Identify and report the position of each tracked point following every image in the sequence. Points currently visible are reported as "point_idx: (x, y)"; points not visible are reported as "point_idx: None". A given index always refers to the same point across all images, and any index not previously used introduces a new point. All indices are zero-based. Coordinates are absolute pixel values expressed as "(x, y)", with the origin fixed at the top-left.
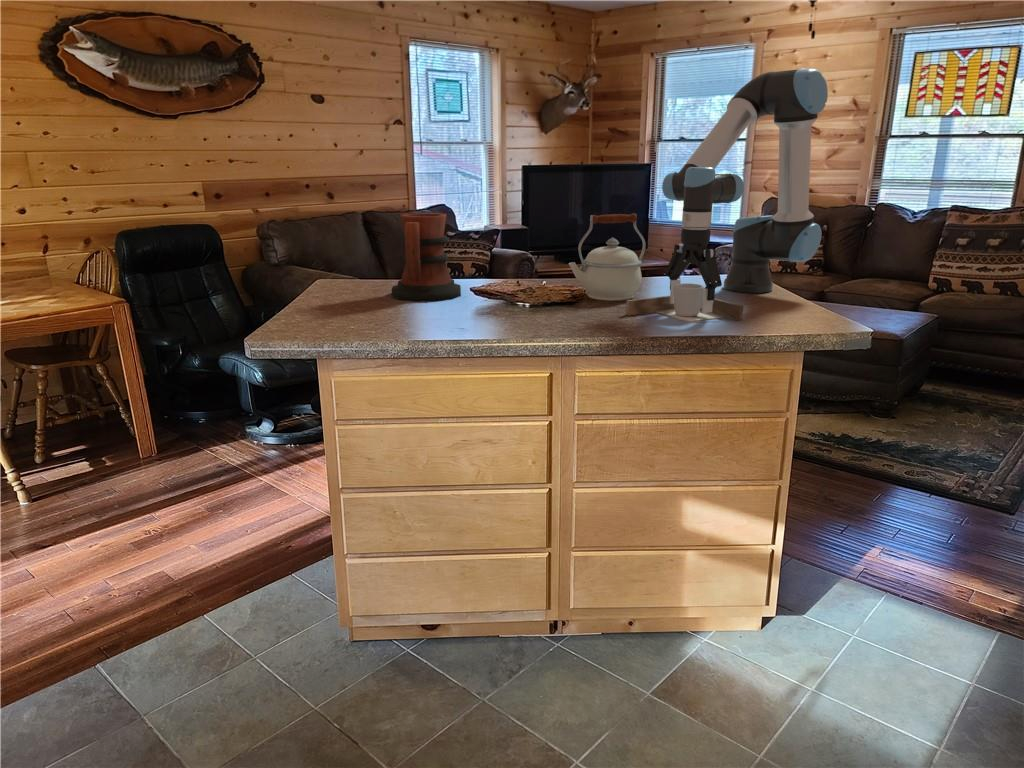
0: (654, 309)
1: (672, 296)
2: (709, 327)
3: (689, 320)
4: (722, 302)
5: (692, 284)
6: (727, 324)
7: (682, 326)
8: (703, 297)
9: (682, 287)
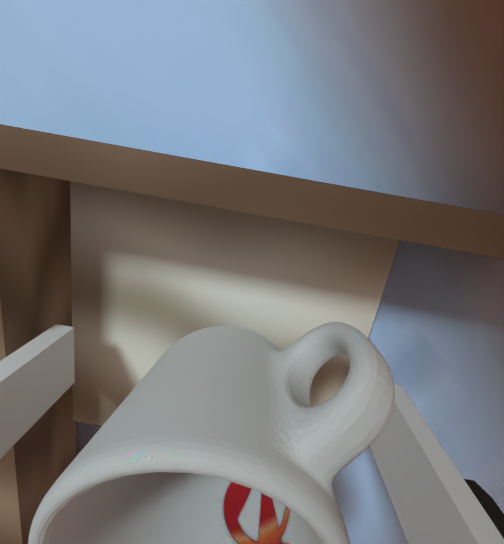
0: (66, 433)
1: (40, 413)
2: (456, 464)
3: None
4: (391, 237)
5: (113, 479)
6: (496, 363)
7: (357, 520)
8: (408, 540)
9: (83, 509)
